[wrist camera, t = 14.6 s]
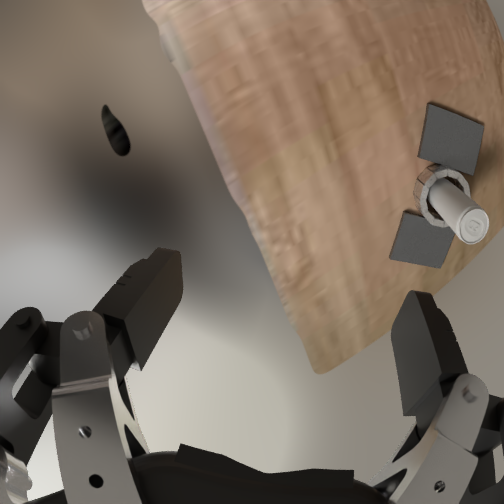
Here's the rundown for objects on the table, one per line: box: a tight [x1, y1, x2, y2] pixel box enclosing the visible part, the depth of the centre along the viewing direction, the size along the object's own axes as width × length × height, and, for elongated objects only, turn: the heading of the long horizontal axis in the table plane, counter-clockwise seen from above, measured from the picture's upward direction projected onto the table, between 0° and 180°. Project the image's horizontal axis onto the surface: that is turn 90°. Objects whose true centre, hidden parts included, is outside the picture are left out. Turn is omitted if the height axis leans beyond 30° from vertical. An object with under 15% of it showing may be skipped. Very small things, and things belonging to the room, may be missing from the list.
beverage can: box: [427, 178, 489, 244], centre depth 31 cm, size 5×5×12 cm
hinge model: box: [389, 104, 484, 268], centre depth 34 cm, size 25×10×3 cm, turn 176°
